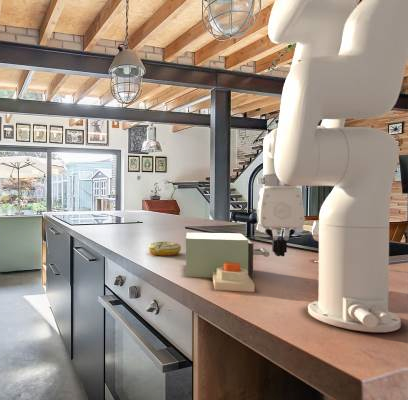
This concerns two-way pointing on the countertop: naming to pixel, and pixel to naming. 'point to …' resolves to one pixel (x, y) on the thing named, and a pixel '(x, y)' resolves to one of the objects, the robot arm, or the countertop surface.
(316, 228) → the wineglass
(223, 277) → the block
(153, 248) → the decorated donut
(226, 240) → the green drawer cabinet
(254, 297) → the countertop surface
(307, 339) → the countertop surface
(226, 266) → the button
